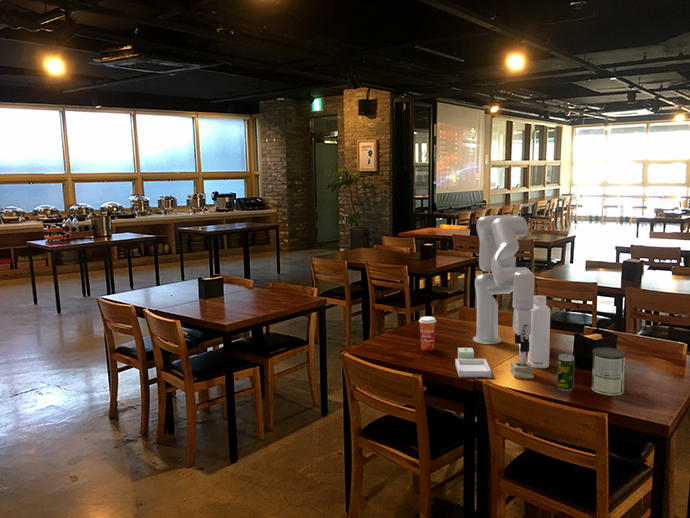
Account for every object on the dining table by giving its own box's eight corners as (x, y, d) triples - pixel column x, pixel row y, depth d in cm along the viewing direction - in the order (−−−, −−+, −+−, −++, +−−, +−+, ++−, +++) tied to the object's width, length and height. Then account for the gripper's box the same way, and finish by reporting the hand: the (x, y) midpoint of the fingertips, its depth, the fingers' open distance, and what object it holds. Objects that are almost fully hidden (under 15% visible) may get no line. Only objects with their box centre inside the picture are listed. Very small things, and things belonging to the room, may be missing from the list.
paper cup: (417, 350, 244) (416, 319, 242) (421, 345, 251) (421, 315, 249) (434, 352, 241) (434, 320, 239) (438, 347, 248) (438, 316, 246)
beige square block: (510, 371, 213) (510, 361, 213) (529, 371, 213) (529, 361, 212) (514, 377, 207) (514, 367, 206) (533, 378, 206) (533, 367, 205)
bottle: (523, 363, 223) (524, 295, 219) (538, 360, 226) (540, 293, 222) (537, 369, 215) (539, 299, 212) (553, 366, 218) (555, 297, 215)
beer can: (560, 384, 198) (561, 352, 197) (575, 388, 195) (576, 355, 193) (554, 389, 194) (555, 356, 193) (570, 392, 191) (571, 359, 189)
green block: (457, 359, 230) (457, 347, 230) (472, 359, 230) (472, 347, 229) (459, 363, 225) (459, 351, 224) (474, 364, 224) (474, 352, 223)
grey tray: (455, 364, 223) (455, 358, 223) (485, 364, 222) (485, 358, 222) (459, 377, 209) (459, 370, 208) (491, 377, 207) (491, 371, 207)
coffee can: (586, 385, 197) (587, 347, 195) (614, 384, 198) (615, 346, 196) (600, 396, 187) (601, 356, 185) (629, 395, 187) (631, 355, 185)
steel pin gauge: (517, 373, 211) (518, 343, 210) (524, 373, 211) (525, 343, 209) (519, 375, 209) (519, 345, 207) (525, 375, 208) (526, 345, 207)
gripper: (508, 298, 215) (507, 340, 218) (517, 309, 198) (516, 355, 201) (528, 298, 214) (526, 340, 217) (539, 309, 197) (537, 355, 200)
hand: (521, 347), depth 209 cm, fingers open, 9 cm apart
